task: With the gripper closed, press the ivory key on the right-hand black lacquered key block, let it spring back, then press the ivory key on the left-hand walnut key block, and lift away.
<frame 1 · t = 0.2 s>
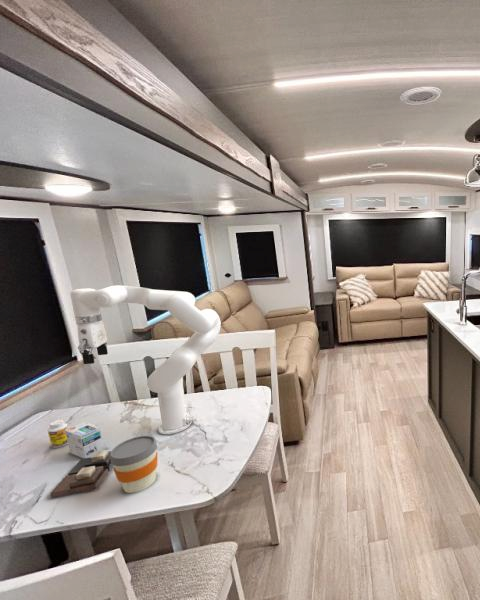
hand: (96, 358, 130), 36 cm above the table, tool pointing down, fingers open, 9 cm apart
supplement bottle: (61, 444, 132), on the table
light bulb box: (87, 451, 128), on the table
key block g: (81, 485, 111), on the table
key block c: (95, 467, 119), on the table
key c: (100, 455, 119), point 5 cm above the table, slide at 0.1 cm
reusable coffee cup: (140, 483, 113), on the table
key g: (86, 472, 111), point 5 cm above the table, slide at 0.1 cm
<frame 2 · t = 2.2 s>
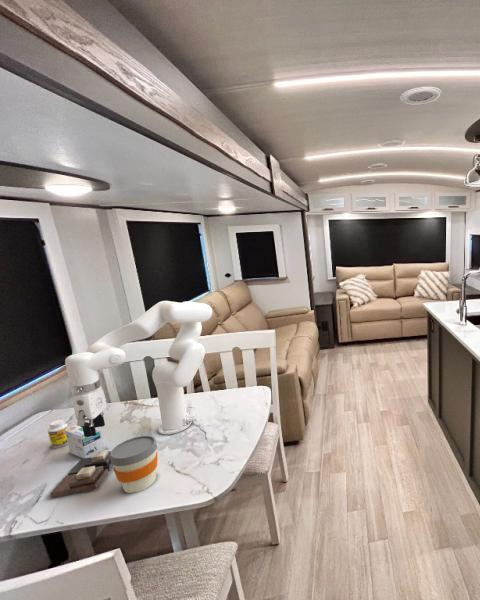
hand: (95, 430, 117), 15 cm above the table, tool pointing down, fingers open, 5 cm apart
nothing on the table moved.
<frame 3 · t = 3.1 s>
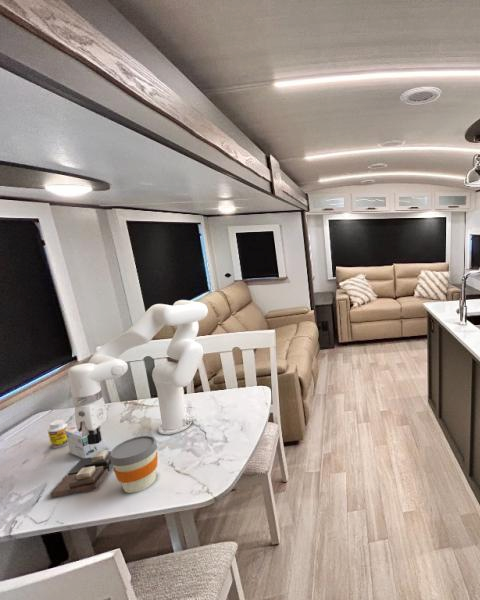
hand: (95, 442, 117), 11 cm above the table, tool pointing down, fingers closed
nothing on the table moved.
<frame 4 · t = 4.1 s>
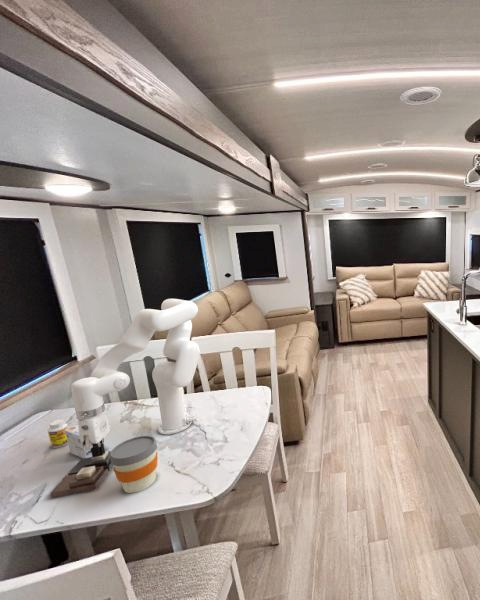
hand: (99, 454, 119), 5 cm above the table, tool pointing down, fingers closed
key c: (100, 456, 119), point 4 cm above the table, slide at -0.3 cm, touching gripper
everything else where it was.
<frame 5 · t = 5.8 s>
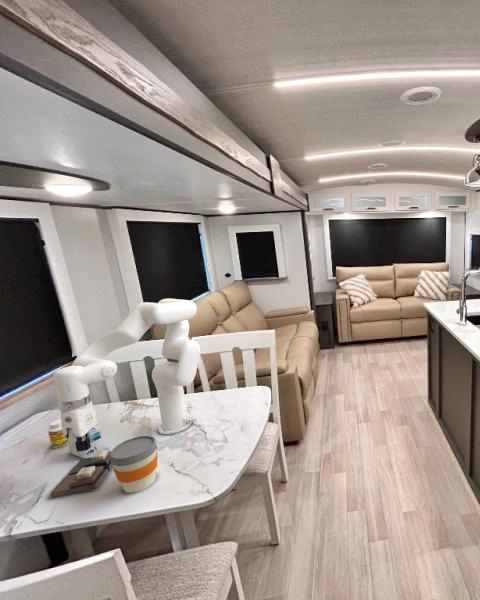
hand: (84, 449, 111), 13 cm above the table, tool pointing down, fingers closed
key c: (100, 455, 119), point 5 cm above the table, slide at 0.1 cm
everything else where it was.
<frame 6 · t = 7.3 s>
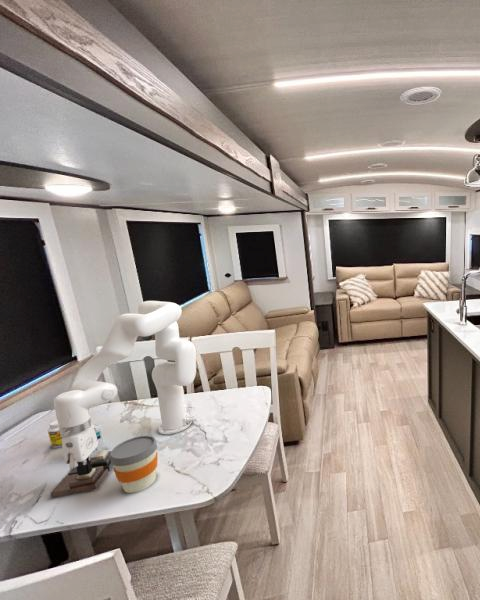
hand: (85, 472, 111), 5 cm above the table, tool pointing down, fingers closed
key g: (86, 475, 111), point 4 cm above the table, slide at -0.8 cm, touching gripper
everything else where it was.
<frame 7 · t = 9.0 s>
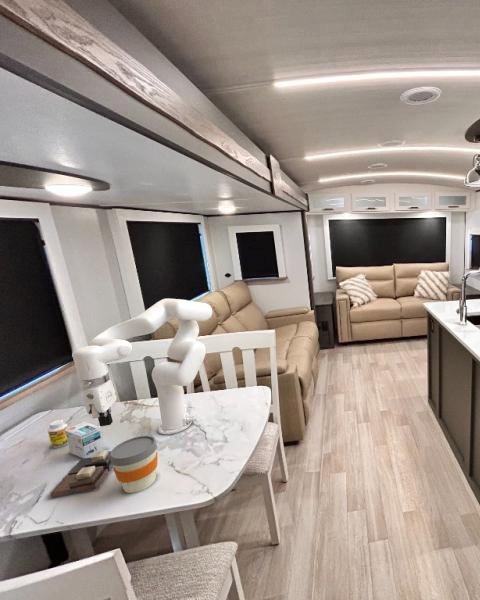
hand: (106, 424, 116), 18 cm above the table, tool pointing down, fingers closed
key g: (86, 472, 111), point 5 cm above the table, slide at 0.1 cm
everything else where it was.
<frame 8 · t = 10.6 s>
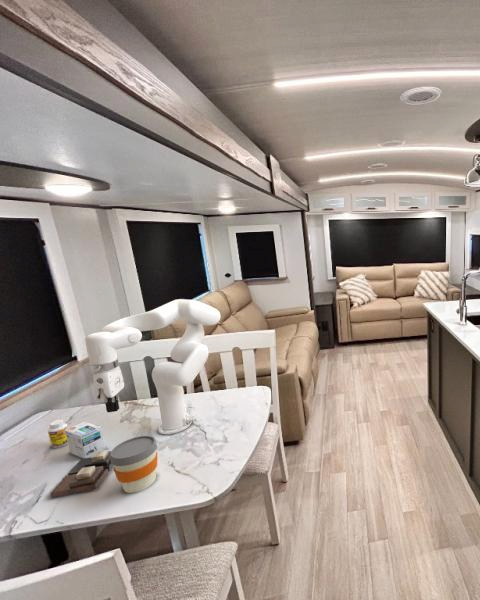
hand: (113, 410, 118), 22 cm above the table, tool pointing down, fingers closed
nothing on the table moved.
at the end: key c pushed in 1.1 cm at the most during the clip and back out by the end; key g pushed in 1.1 cm at the most during the clip and back out by the end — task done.
